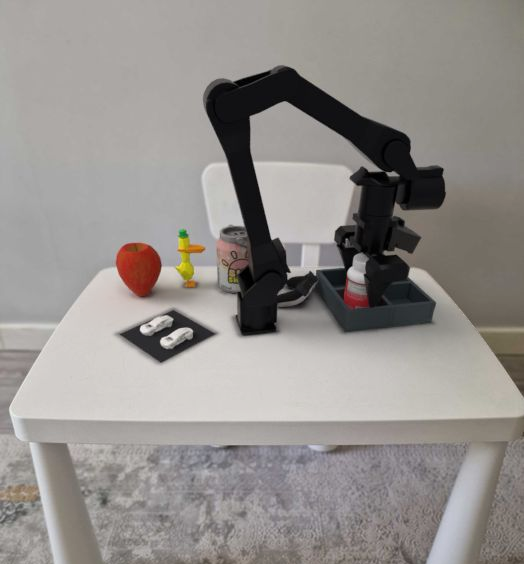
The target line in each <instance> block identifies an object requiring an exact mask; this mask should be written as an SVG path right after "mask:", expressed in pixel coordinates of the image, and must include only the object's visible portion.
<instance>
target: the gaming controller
mask: <svg viewBox="0 0 524 564" xmlns="http://www.w3.org/2000/svg"><path fill="white" fill-rule="evenodd" d="M317 282H318V279H317V277H316V274H315V273H314V272H312V271H311V270H309V271H308V272H307V273H306V274H305V275H295V276H291V277H289V278H288V281H287V284H286V287H287V289H288V288H289V289H291V290H289V291H286V292H283V293H278V295H277V297H276V299H275V300H276V302H277V304H278V306H277V308H285V307H292V306H296V305H298V306H299V305H301V304H302V303H303V302H304V301H305V300H306V298H308V297H309V295H310V294H311V292H312V291H313V290H314V289H315V285H316V284H317Z"/></svg>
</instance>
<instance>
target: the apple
mask: <svg viewBox="0 0 524 564" xmlns="http://www.w3.org/2000/svg"><path fill="white" fill-rule="evenodd" d="M115 267H116V270H117V274H118V276H119V277H120V278H121V281H122V283H123V284H124V285H125V286H126V287H127V288H128V290H129V291H131V292H132V293H133V294H134V295H136V296H138V297H147V296H148V295H149V294H150V293H151V292H152V290H153V288H154V287H155V285H156V283H157V281H158V280H159V277H160V275H161V272H162V267H163V264H162V259H161V256H160V254H159V253H158V251H157V250H156V249H155V248H154V247H153V246H152V245H150V244H147V243H144V242H129V243H126V244H123V245H122V246H121V247H120V248H119V249H118V252H117V254H116V258H115Z"/></svg>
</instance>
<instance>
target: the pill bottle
mask: <svg viewBox="0 0 524 564" xmlns="http://www.w3.org/2000/svg"><path fill="white" fill-rule="evenodd" d="M368 260H369V258H368V257H367V256H366V255H365V254H361V253H360V254H357V255H355V256H354V259H353V266H352V267H351V268H349V270H348V272H347V278H346V286H345V293H344V302H345V303H346V305H347V306H348V307H349V308H350V309H358V308H368V307H369V303H368V298H367V292H366V286H365V281H364V274H366V271H365V264H366V262H367V261H368Z"/></svg>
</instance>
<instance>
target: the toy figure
mask: <svg viewBox="0 0 524 564" xmlns="http://www.w3.org/2000/svg"><path fill="white" fill-rule="evenodd" d="M178 233H179V234H178V235H177V238H178V247H177V248H176V249H177V252H179V253H180V257H181V263H180V264H179V265H173V267H174V268H175V270H176V271H177V272H178V274H179V275H180V276H181V278H182V279H183V281H186V283H185V285H184V286H185V288H195V287H196V283H197V282H196V280H195V281H194V280H191V279H192V278H193V276H194V275H195V267H194V265H193V264H192V262H190V260H191V259H190V258H191V254H202V253H203V252H204V251H206V246H204V245H202V244H194V243H193V244H192V243H190V234H189V233H187V229H186V228H182V229H179V230H178Z"/></svg>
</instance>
